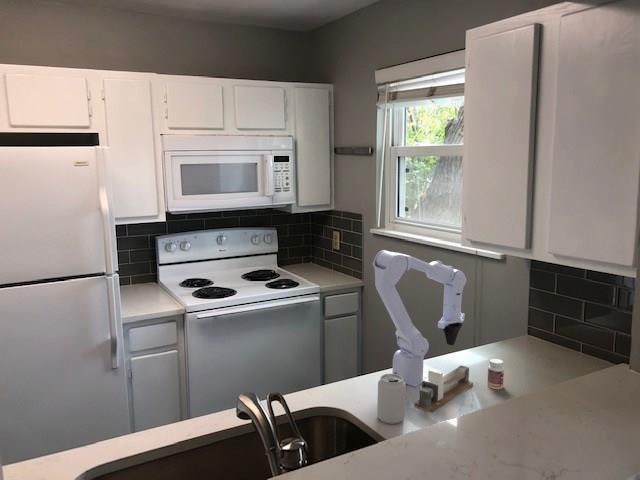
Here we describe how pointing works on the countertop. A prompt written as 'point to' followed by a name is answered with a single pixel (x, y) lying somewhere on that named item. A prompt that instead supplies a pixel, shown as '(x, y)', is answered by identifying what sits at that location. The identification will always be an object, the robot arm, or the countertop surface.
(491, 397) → the countertop surface
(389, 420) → the can
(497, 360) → the pill bottle
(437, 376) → the sleeve
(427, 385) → the grey square plate
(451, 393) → the pipe board
